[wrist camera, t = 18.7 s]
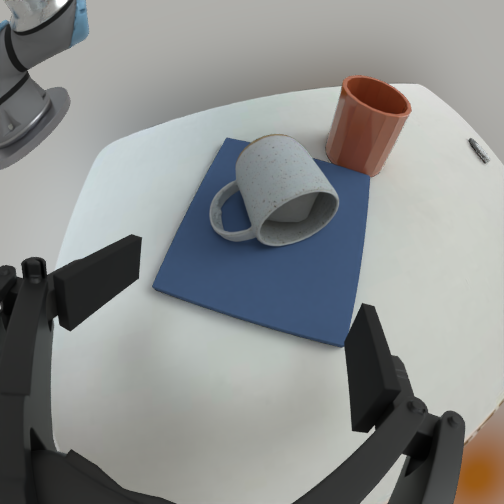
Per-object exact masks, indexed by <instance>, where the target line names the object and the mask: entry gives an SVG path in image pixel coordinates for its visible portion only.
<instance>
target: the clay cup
mask: <svg viewBox="0 0 504 504" xmlns="http://www.w3.org/2000/svg"><path fill="white" fill-rule="evenodd" d="M411 111H412V110H411V105H410V103H409V101H408V100H407V99H406V97H405V96H404V95H403V94H402V93H401V92H399V91H398V90H397V89H396V88H394V87H392V86H391V85H389V84H387V83H385V82H383V81H380V80H378V79H375V78H372V77H368V76H361V75H355V76H349V77H347V78H346V79H344V80H343V84H342V87H341V91H340V95H339V99H338V102H337V106H336V110H335V113H334V117H333V121H332V124H331V128H330V131H329V135H328V138H327V143H326V147H325V148H326V154H327V156H328V158H329V159H330V161H331V162H332V163H333V164H335V165H338V166H341V167H344V168H348V169H351V170H354V171H357V172H360V173H363V174H366V175H369V176H370V177H373V176H375V175H377V174H378V173H379V172H380V171H381V170H382V168H383V166H384V165H385V163H386V161H387V159H388V157H389V155H390V153H391V152H392V150H393V148H394V146H395V144H396V142H397V140H398V138H399V136H400V134H401V132H402V130H403V128H404V126H405V124H406V122H407V120H408V118H409V115H410V113H411Z"/></svg>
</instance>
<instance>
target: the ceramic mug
mask: <svg viewBox="0 0 504 504" xmlns="http://www.w3.org/2000/svg"><path fill="white" fill-rule="evenodd" d="M235 170H236V180H235V181H233V182H231V183H229V184H227V185H226V186H224V187H223V188H222V189H221V190H220V191H219V192H218V193H217V194H216V195H215V197H214V199H213V200H212V203H211V206H210V213H209V216H210V222H211V225H212V227H213V229H214V231H216V232H217V233H218V234H219V235H221V236H222V237H223V238H225V239H227V240H230V241H235V242H238V241H245V240H249V239H253V238H257V239H258V240H259V241H260V242H261V243H263V244H265V245H268V246H282V245H287V244H292V243H295V242H299V241H301V240H304V239H305V238H308V237H310V236H312V235H313V234H315V233H317V232H318V231H319V230H321V229H322V228H324V227H325V226H326V225H327V224H328V223H329V222H330V221H331V219H332V218H333V217H334V215H335V214H336V212H337V210H338V207H339V198H338V195H337V193H336V191H335V190H334V188H333V187H332V185H331V184H330V183H329V181H328V180H327V178H326V177H325V175H324V174H323V172H322V171H321V170H320V168H319V167H318V166H317V164H316V163H315V162H314V160H313V159H312V157H311V156H310V155H309V153H308V152H307V151H306V149H305V148H304V147H303V146H302V145H301V144H300V143H298V142H297V141H296V140H295V139H293V138H291V137H289V136H287V135H282V134H272V135H267V136H264V137H261V138H259V139H256V140H255V141H253V142H251V143H250V144H249V145H248V146H246V147H245V148H244V150H243V151H242V152H241V153H240V155H239V157H238V159H237V162H236V169H235ZM238 191H240V192H241V195H242V197H243V200H244V203H245V206H246V210H247V212H248V216H249V219H250V222H251V227H250V228H249V229H247V230H242V231H238V232H228V231H224V229H223V224H222V220H221V215H222V211H221V207H222V206H223V204H224V203H225V201H226V200H227V199H228V198H229V197H230V196H231V195H233V194H235V193H236V192H238Z"/></svg>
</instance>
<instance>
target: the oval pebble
mask: <svg viewBox="0 0 504 504" xmlns="http://www.w3.org/2000/svg"><path fill="white" fill-rule="evenodd" d="M469 141H470V143H471V144H472V146H473V147H474V149H475V150H476V152H477V153H478V154H479V156H480V157H481V158H482V159H483V160H484V161H485V162H486V163H488V162H489V161H490V158H489V156H488V155H487V153H486V152H485V151H484V150H483V149H482V148H481V147H480V146H479V144H478V143H477V142H476V141H474V140H473V139H472V138H470V139H469Z"/></svg>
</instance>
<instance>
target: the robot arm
mask: <svg viewBox="0 0 504 504" xmlns="http://www.w3.org/2000/svg"><path fill="white" fill-rule="evenodd" d="M4 2H5V3H6V5H7V6H8V8H9V9H10V10H11V12H12V13H13V14H12V16H11V19H10V24H9V22H8V21H7V20H4V21H3V22H2V23H0V149H1V148H5V147H8V146H10V145H12V144H13V143H15V142H17V141H18V140H19V139H21V138H22V137H23V136H25V135H26V134H27V133H28V132H29V131H30V130H32V129H33V128H34V127H35V126H36V125H37V124H38V123H39V122H40V120H41V119H42V118H43V117H44V116H45V114H46V113H47V111H48V110H49V108H50V106H51V99H50V97H49V95H48V94H47V92H46V91H45V90H43V89H42V88H41V87H40V86H39V85H38V84H37V83H35V81H33V80H32V79H31V77H30V75H29V73H28V71H27V70H28V69H30V68H32V67H34V66H35V65H37V64H39V63H41V62H43V61H45V60H46V59H48V58H50V57H52V56H54V55H56V54H58V53H60V52H62V51H64V50H66V49H69V48H71V47H72V46H74V45H75V44H77V43H79V42H81V41H83V40H84V39H85V38H86V37H87V36H88V34H89V26H88V18H87V9H86V0H4ZM141 242H142V237H139V236H135V235H132V234H131V235H129V236H127V237H125V238H123V239H121V240H119V241H117V242H115V243H113V244H111V245H109V246H107V247H105V248H103V249H101V250H99V251H97V252H95V253H93V254H91V255H89V256H87V257H85V258H83V259H79V260H74V261H73V262H71V263H69V264H68V265H65V266H63V267H62V268H59V269H57V270H56V271H54V272H52V273H50V274H48V275H47V271H46V261H45V260H44V259H42V258H39V257H31V258H28V259H25V260H24V261H23V262H22V263H21V265H22V273H23V278H20V277H17V276H16V269H15V268H14V267H13V266H7V265H5V266H1V267H0V305H1V309H0V504H176V503H173V502H171V501H168V500H166V499H163V498H160V497H155V496H151V495H146V494H142V493H138V492H134V491H130V490H126V489H124V488H122V487H121V486H120V485H118V484H117V483H116V482H115V481H114V480H113V479H111V478H110V477H109V476H108V475H107V474H106V473H105V472H104V471H102V470H101V469H100V468H99V467H98V466H97V465H95V464H94V463H92V462H90V461H89V460H87V459H86V458H84V457H82V456H81V455H79V454H78V453H76V452H75V451H73V450H72V449H71V450H70V451H69V452H68V454H65V453H62V452H58V451H57V450H56V447H55V444H54V440H53V432H52V418H51V357H52V342H53V330H54V321H53V318H55V317H56V316H57V315H58V318H59V324H60V326H62V327H64V328H65V329H67V330H68V331H72V330H73V329H74V328H75V327H77V326H78V325H79V324H80V323H82V322H83V321H84V320H85V319H87V318H88V317H89V316H90V315H92V314H93V313H94V312H95V311H97V310H98V309H99V308H101V307H102V306H103V305H104V304H106V303H107V302H108V301H110V300H111V299H112V298H113V297H115V296H116V295H117V294H119V293H120V292H121V291H123V290H124V289H125V288H127V287H128V286H129V285H131V284H132V283H133V282H135V281H136V280H137V279H139V268H140V254H141ZM344 347H345V355H346V364H347V374H348V384H349V395H350V408H351V423H352V431H356V432H364V433H368V432H369V431H370V430H371V429H372V427H373V426H374V425H375V430H376V431H375V432H374V433H373V434H372V435H371V436H370V437H369V438H368V439H367V440H366V441H365V442H364V443H363V444H362V445H361V446H360V447H359V448H358V449H357V450H356V451H355V452H354V453H353V454H352V455H351V456H350V457H349V458H348V459H346V460H345V461H344V462H343V463H342V464H341V465H340V466H339V467H338V468H336V469H335V470H334V471H333V472H332V473H331V474H330V475H328V476H327V477H326V478H325V479H324V480H322V481H321V482H320V483H319V484H317V485H316V486H315V487H314V488H312V489H311V490H310V491H308V492H307V493H306V494H304V495H303V496H302V497H300V498H299V499H298V500H296V501H295V502H293V503H292V504H360V503H361V501H362V500H363V499H364V498H365V497H366V496H367V495H368V494H369V493H370V492H371V491H372V490H373V488H374V487H375V486H376V485H377V484H378V483H379V482H380V480H381V479H382V478H383V477H384V476H385V474H386V473H387V472H388V471H389V469H390V468H391V467H392V466H393V464H394V463H395V462H396V460H397V459H398V458H399V456H400V455H401V454H404V455H407V457H406V459H405V462H404V465H403V468H402V470H401V473H400V476H399V478H398V481H397V483H396V486H395V488H394V490H393V493H392V495H391V497H390V499H389V502H388V504H453V503H454V499H455V495H456V489H457V485H458V479H459V474H460V468H461V462H462V454H463V446H464V436H465V422H464V420H463V418H462V417H461V416H460V415H459V414H458V413H456V412H454V411H446V412H445V413H444V414H443V415H442V416H441V417H438V416H435V415H432V414H430V413H428V409H427V406H426V405H425V403H424V402H423V401H422V400H420V399H419V398H417V397H414V393H413V390H412V387H411V384H410V381H409V379H408V375H407V373H406V369H405V366H404V364H403V362H402V361H401V360H400V358H399V357H398V356H393V355H391V353H390V350H389V347H388V344H387V341H386V338H385V335H384V332H383V329H382V326H381V323H380V321H379V318H378V315H377V312H376V310H375V307H374V306H371V305H368V304H364V303H362V305H361V307H360V309H359V311H358V314H357V316H356V318H355V320H354V322H353V324H352V327H351V329H350V331H349V333H348V335H347V337H346V339H345V341H344Z"/></svg>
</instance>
